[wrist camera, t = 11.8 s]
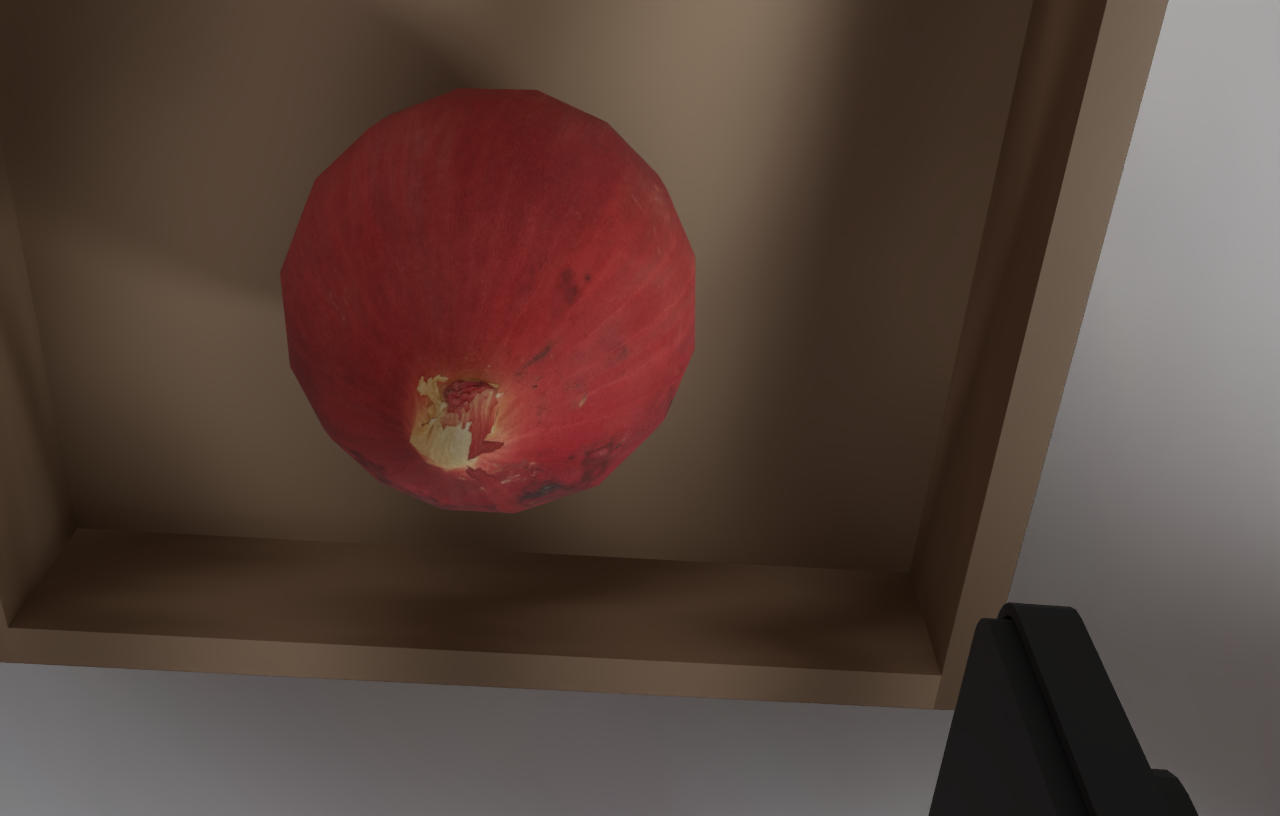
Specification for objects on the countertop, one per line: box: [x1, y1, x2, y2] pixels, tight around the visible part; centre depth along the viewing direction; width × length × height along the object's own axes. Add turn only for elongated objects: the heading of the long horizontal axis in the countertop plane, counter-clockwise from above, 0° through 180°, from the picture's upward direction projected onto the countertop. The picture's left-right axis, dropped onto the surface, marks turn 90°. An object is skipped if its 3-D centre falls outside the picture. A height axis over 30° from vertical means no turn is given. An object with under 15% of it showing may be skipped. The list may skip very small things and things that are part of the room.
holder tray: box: [0, 0, 1168, 710], centre depth 20 cm, size 18×16×4 cm
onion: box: [280, 88, 695, 513], centre depth 17 cm, size 6×6×8 cm
